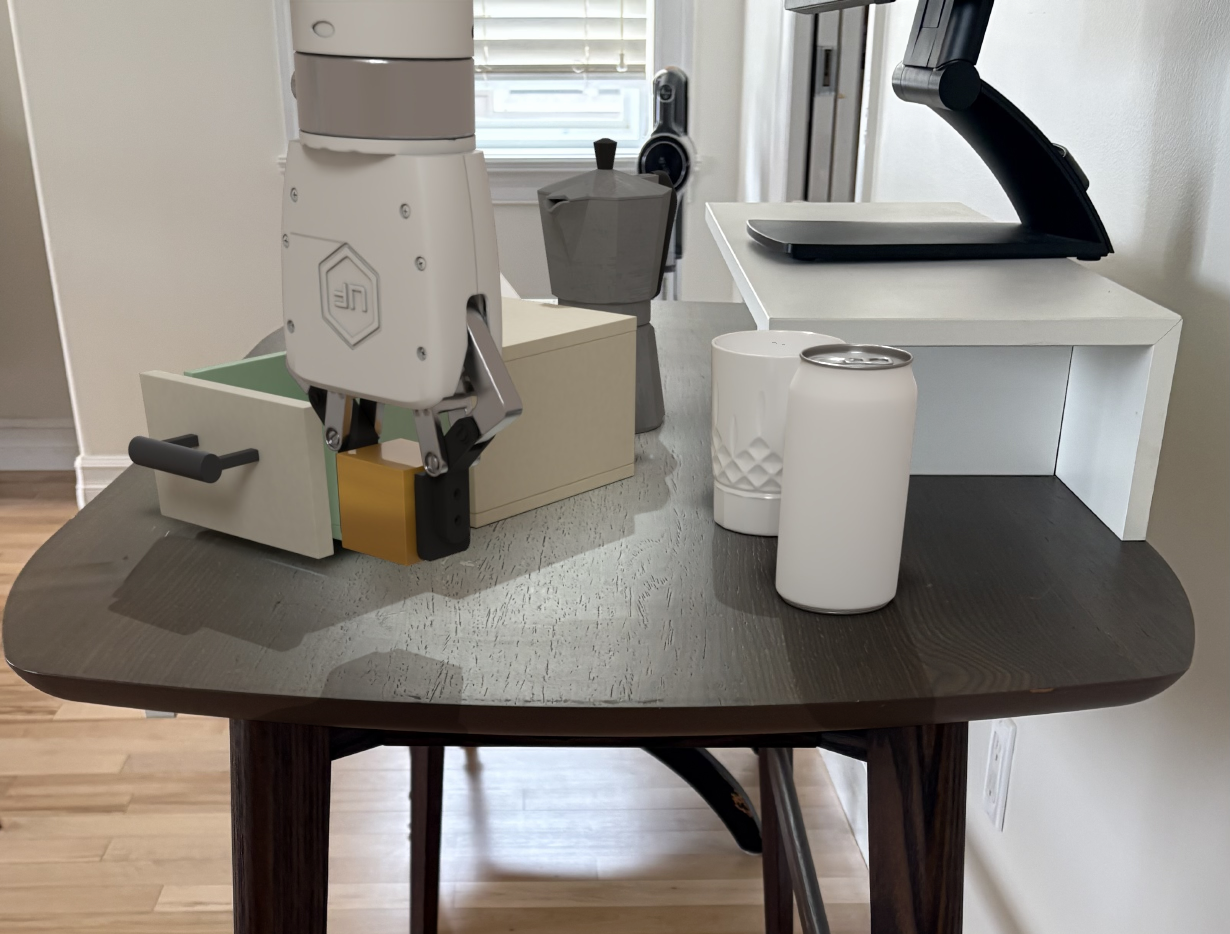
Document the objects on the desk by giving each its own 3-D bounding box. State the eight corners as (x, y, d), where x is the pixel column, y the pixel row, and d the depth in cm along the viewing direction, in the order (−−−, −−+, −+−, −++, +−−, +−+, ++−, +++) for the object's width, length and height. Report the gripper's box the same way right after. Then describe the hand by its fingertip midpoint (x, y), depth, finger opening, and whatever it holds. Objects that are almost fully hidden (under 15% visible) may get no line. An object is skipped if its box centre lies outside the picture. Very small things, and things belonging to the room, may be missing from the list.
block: (406, 566, 75) (402, 470, 73) (341, 547, 77) (335, 453, 75) (468, 546, 78) (467, 453, 76) (404, 528, 80) (400, 437, 78)
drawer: (259, 578, 84) (240, 422, 79) (101, 531, 90) (75, 385, 86) (494, 502, 96) (489, 363, 91) (339, 466, 102) (327, 334, 98)
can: (772, 576, 87) (787, 340, 80) (889, 578, 87) (914, 342, 80) (777, 615, 82) (794, 367, 75) (901, 618, 82) (930, 369, 75)
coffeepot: (606, 448, 110) (608, 149, 100) (499, 429, 114) (490, 140, 104) (719, 407, 121) (731, 133, 110) (617, 391, 125) (619, 125, 114)
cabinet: (476, 528, 95) (469, 354, 89) (308, 486, 102) (291, 322, 96) (634, 475, 105) (637, 316, 99) (471, 440, 112) (464, 290, 106)
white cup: (756, 547, 92) (767, 361, 86) (678, 515, 97) (683, 337, 91) (860, 527, 95) (877, 347, 89) (778, 496, 101) (790, 324, 95)
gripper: (186, 95, 69) (231, 524, 79) (475, 126, 61) (482, 600, 71) (314, 91, 74) (340, 495, 84) (596, 119, 65) (586, 563, 76)
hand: (405, 539), depth 78 cm, fingers closed on block, 4 cm apart
